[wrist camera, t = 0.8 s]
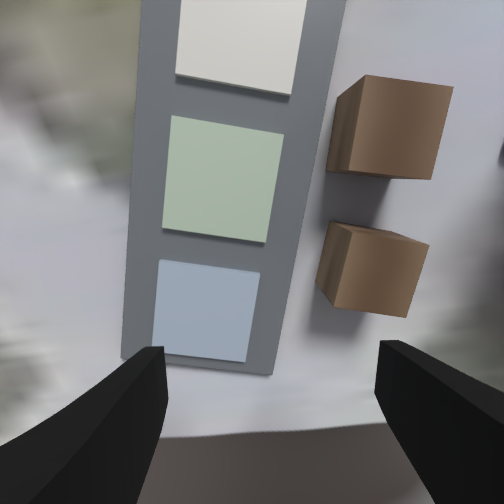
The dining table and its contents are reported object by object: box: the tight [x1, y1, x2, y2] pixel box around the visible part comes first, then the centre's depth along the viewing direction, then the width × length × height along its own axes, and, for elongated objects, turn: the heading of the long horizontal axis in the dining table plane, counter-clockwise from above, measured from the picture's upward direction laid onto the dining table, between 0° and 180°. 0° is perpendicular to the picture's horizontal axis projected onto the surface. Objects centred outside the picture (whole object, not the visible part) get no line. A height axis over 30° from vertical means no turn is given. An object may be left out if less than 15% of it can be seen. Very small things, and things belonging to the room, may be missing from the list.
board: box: [121, 0, 346, 375], centre depth 17 cm, size 10×24×1 cm, turn 171°
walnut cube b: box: [315, 221, 429, 318], centre depth 17 cm, size 4×4×4 cm
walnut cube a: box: [326, 75, 454, 180], centre depth 16 cm, size 4×4×4 cm
